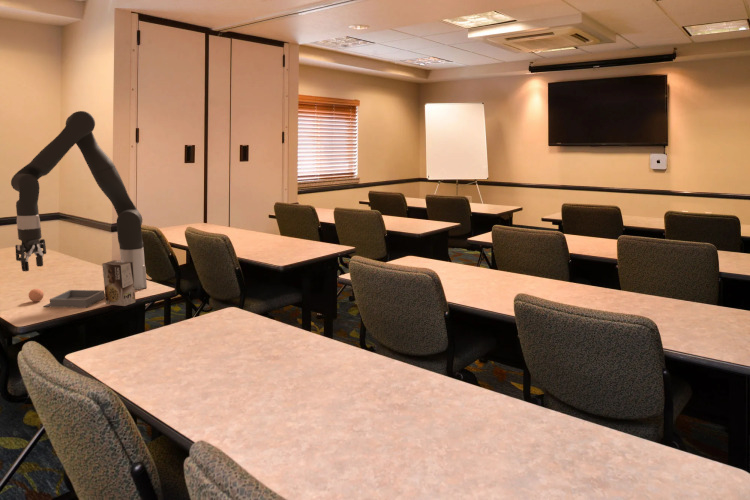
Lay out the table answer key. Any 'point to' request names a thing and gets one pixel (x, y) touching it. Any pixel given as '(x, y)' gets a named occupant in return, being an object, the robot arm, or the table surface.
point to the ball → (36, 295)
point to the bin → (77, 298)
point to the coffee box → (119, 282)
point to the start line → (47, 305)
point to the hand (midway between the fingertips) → (32, 268)
